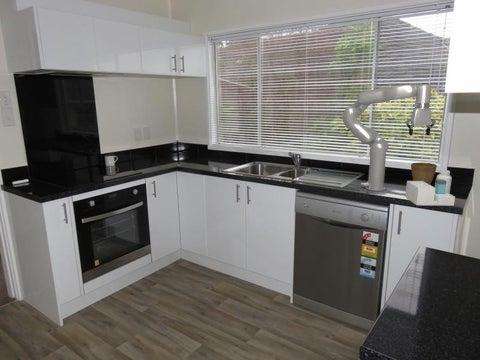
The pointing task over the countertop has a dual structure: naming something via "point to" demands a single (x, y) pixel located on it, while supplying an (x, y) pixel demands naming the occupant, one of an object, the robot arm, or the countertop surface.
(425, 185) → the console
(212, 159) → the countertop surface
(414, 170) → the plant pot
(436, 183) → the light blue block
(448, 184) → the pill bottle
